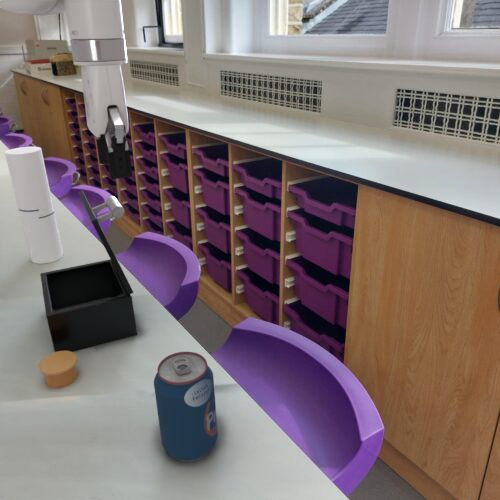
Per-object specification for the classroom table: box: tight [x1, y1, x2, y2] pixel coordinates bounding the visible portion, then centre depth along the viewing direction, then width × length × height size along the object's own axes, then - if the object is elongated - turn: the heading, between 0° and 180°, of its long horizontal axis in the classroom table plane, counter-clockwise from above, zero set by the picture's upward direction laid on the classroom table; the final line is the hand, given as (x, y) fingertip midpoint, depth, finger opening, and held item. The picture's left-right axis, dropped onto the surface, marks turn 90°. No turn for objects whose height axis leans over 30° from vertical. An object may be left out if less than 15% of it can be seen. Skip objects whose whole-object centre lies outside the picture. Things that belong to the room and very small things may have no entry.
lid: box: [77, 190, 134, 295], centre depth 81 cm, size 14×16×5 cm
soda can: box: [153, 351, 219, 463], centre depth 59 cm, size 7×7×12 cm
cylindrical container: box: [4, 146, 64, 265], centre depth 108 cm, size 7×7×25 cm
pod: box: [38, 351, 78, 389], centre depth 71 cm, size 5×5×4 cm
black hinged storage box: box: [39, 258, 138, 353], centre depth 83 cm, size 13×16×9 cm
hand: (115, 169), depth 77 cm, fingers open, 9 cm apart
